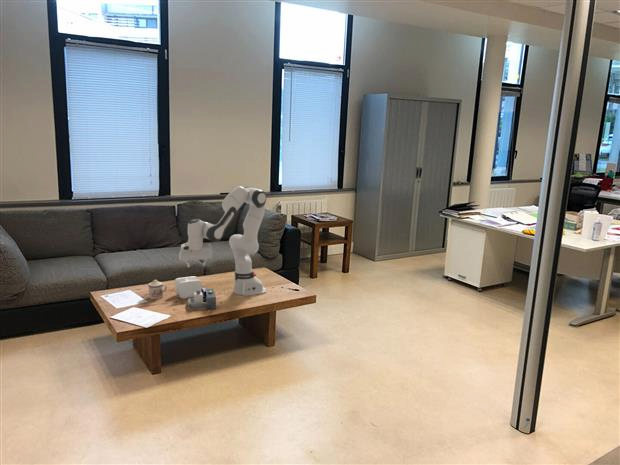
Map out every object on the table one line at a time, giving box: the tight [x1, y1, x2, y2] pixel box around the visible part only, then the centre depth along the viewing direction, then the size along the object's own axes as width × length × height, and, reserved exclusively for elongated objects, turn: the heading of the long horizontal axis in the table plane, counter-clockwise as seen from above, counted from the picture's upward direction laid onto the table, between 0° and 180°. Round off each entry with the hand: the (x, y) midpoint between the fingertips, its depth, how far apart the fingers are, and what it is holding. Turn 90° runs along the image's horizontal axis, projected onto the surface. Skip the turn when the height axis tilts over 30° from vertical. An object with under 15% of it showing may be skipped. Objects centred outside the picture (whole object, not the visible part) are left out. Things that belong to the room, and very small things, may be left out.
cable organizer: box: [174, 275, 202, 300], centre depth 322 cm, size 15×11×12 cm
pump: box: [193, 290, 204, 303], centre depth 305 cm, size 5×5×9 cm
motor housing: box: [187, 288, 217, 311], centre depth 306 cm, size 16×16×9 cm
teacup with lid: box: [147, 279, 167, 300], centre depth 318 cm, size 12×9×12 cm
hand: (196, 266), depth 305 cm, fingers open, 8 cm apart
